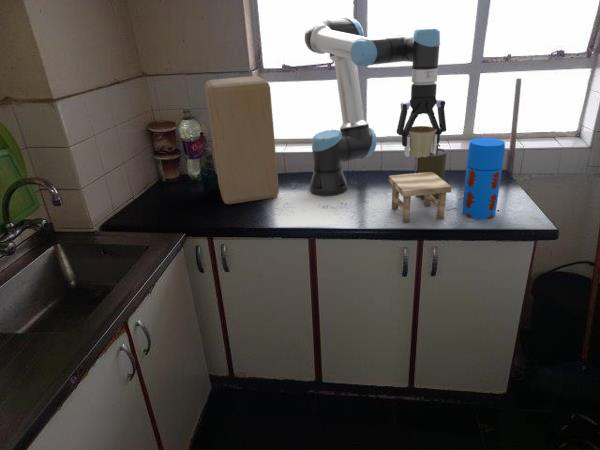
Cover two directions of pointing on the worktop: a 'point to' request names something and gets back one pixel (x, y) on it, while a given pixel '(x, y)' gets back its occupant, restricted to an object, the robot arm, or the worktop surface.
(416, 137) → the flower pot
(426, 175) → the footstool
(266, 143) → the block
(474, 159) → the thermos
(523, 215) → the worktop surface
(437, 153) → the canister
